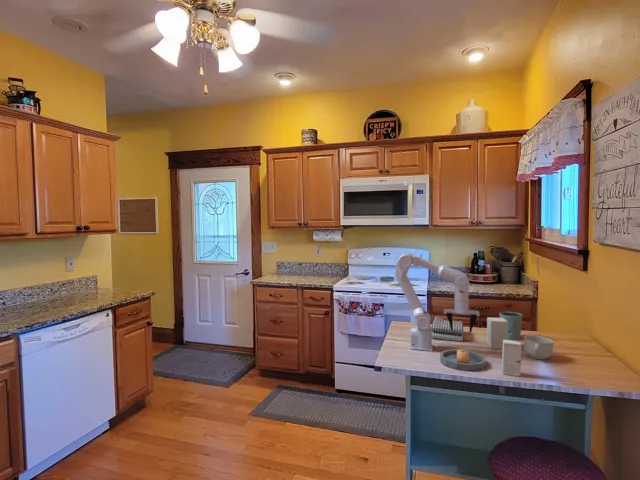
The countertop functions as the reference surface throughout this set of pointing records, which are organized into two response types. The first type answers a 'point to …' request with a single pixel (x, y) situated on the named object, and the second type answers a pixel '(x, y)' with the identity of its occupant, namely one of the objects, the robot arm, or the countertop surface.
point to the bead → (462, 356)
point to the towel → (447, 330)
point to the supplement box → (496, 332)
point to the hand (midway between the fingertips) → (461, 330)
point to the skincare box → (511, 357)
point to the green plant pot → (513, 324)
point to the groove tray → (474, 364)
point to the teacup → (538, 346)
